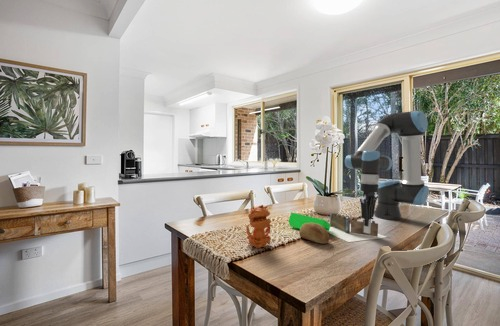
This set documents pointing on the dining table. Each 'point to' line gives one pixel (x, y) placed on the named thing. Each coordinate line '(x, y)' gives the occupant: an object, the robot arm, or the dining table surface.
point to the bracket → (306, 221)
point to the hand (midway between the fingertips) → (367, 232)
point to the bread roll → (314, 233)
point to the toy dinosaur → (259, 227)
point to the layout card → (351, 235)
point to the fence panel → (359, 228)
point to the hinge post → (347, 225)
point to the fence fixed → (338, 221)
